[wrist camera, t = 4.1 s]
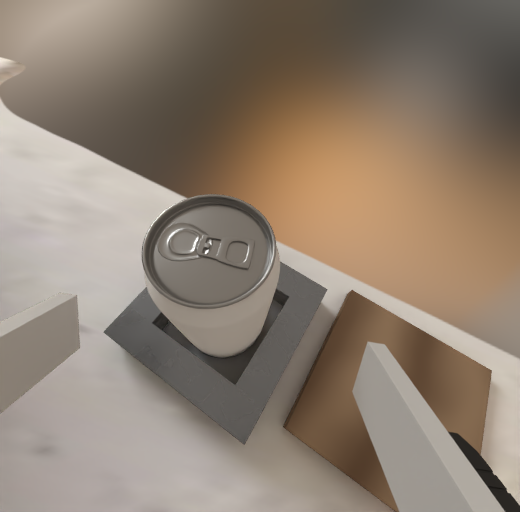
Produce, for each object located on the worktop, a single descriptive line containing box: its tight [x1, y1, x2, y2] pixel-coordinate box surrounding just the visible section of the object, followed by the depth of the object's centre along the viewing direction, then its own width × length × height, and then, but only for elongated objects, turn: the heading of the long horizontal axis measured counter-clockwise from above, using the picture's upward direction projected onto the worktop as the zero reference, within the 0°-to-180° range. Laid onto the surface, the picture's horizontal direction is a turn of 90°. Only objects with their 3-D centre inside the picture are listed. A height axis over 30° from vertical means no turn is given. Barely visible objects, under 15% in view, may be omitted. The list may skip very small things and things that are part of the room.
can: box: [142, 194, 280, 358], centre depth 16 cm, size 6×6×12 cm
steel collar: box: [104, 262, 327, 445], centre depth 20 cm, size 12×12×2 cm
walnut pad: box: [283, 290, 492, 512], centre depth 18 cm, size 12×12×1 cm
